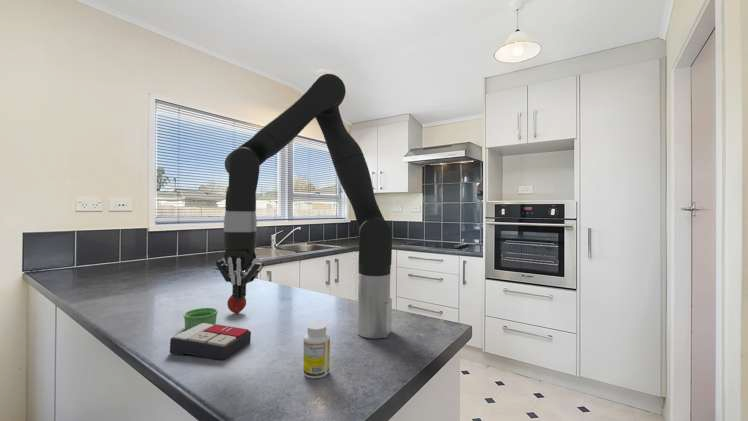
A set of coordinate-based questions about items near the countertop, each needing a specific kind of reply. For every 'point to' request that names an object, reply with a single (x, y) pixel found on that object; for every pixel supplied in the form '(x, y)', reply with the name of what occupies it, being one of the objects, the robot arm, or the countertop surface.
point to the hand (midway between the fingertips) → (238, 299)
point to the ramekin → (200, 317)
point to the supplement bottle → (316, 351)
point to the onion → (236, 305)
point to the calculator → (210, 341)
